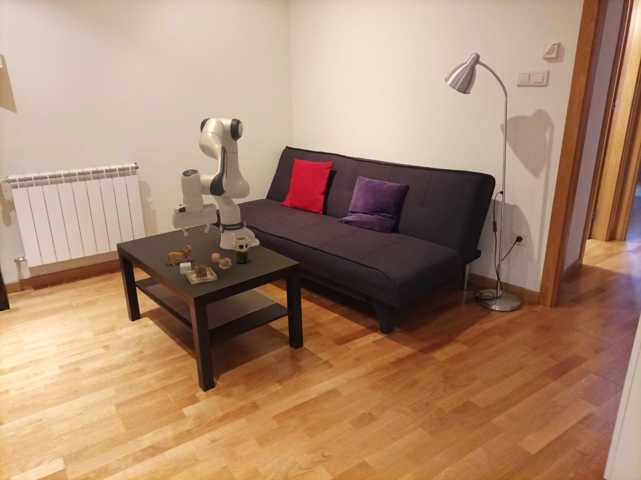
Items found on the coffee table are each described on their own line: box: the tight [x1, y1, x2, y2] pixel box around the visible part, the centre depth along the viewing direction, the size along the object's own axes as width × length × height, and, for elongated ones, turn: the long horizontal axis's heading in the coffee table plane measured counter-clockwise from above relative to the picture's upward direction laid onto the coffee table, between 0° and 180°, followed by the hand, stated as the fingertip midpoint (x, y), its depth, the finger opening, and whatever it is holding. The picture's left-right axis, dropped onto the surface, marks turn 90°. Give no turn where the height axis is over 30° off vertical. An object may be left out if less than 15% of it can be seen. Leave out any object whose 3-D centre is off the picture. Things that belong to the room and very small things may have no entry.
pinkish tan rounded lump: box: [211, 252, 221, 264], centre depth 252 cm, size 4×4×4 cm
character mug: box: [231, 236, 251, 264], centre depth 249 cm, size 11×7×13 cm, turn 125°
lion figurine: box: [164, 244, 193, 267], centre depth 248 cm, size 15×5×9 cm, turn 120°
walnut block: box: [194, 263, 208, 278], centre depth 231 cm, size 4×4×5 cm
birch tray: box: [185, 267, 218, 285], centre depth 231 cm, size 12×12×2 cm
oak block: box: [218, 257, 232, 270], centre depth 244 cm, size 4×4×4 cm
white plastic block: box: [179, 262, 192, 275], centre depth 239 cm, size 5×5×4 cm
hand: (196, 234), depth 226 cm, fingers open, 8 cm apart
